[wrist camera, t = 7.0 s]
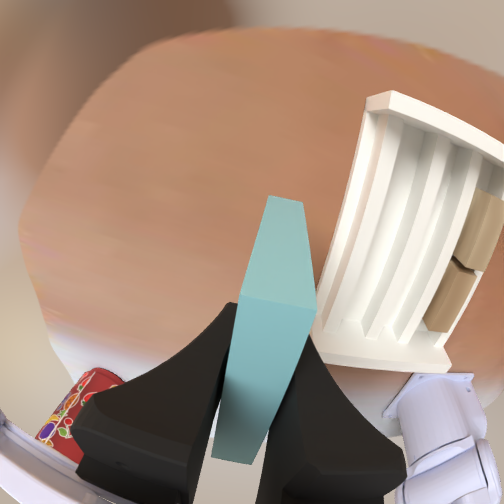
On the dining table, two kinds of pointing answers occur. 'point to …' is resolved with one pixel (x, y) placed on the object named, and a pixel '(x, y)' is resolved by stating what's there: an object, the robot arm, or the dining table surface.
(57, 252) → the dining table surface
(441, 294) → the offcut
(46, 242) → the dining table surface
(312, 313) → the teal square slab
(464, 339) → the dining table surface
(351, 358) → the rack
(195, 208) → the dining table surface
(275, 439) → the robot arm
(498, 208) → the offcut
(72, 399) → the smoothie
